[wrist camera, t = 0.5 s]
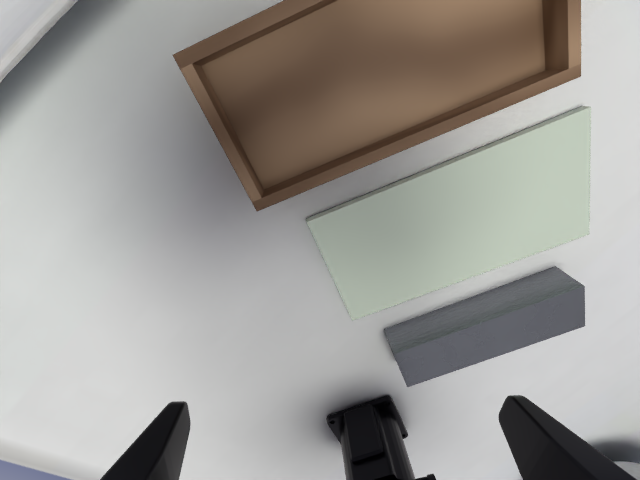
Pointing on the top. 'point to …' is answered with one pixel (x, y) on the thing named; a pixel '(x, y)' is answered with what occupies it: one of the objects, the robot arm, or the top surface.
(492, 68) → the walnut slot tray
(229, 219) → the top surface
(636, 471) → the cereal bowl
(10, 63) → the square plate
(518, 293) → the gunmetal bar
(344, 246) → the sage mat
